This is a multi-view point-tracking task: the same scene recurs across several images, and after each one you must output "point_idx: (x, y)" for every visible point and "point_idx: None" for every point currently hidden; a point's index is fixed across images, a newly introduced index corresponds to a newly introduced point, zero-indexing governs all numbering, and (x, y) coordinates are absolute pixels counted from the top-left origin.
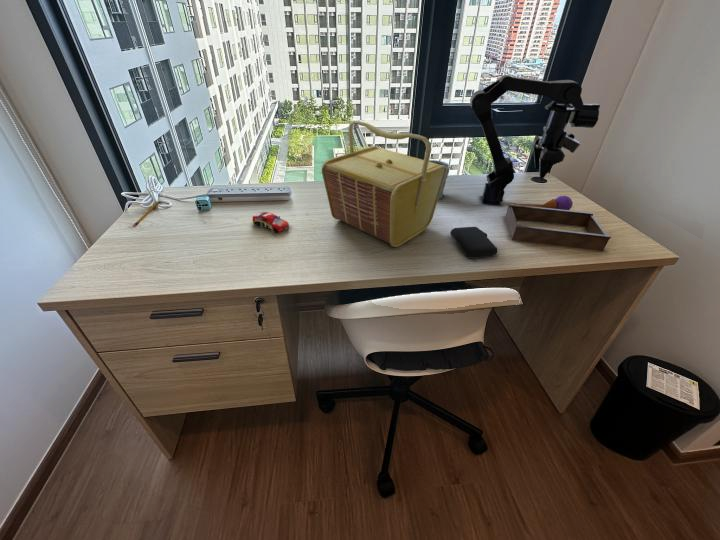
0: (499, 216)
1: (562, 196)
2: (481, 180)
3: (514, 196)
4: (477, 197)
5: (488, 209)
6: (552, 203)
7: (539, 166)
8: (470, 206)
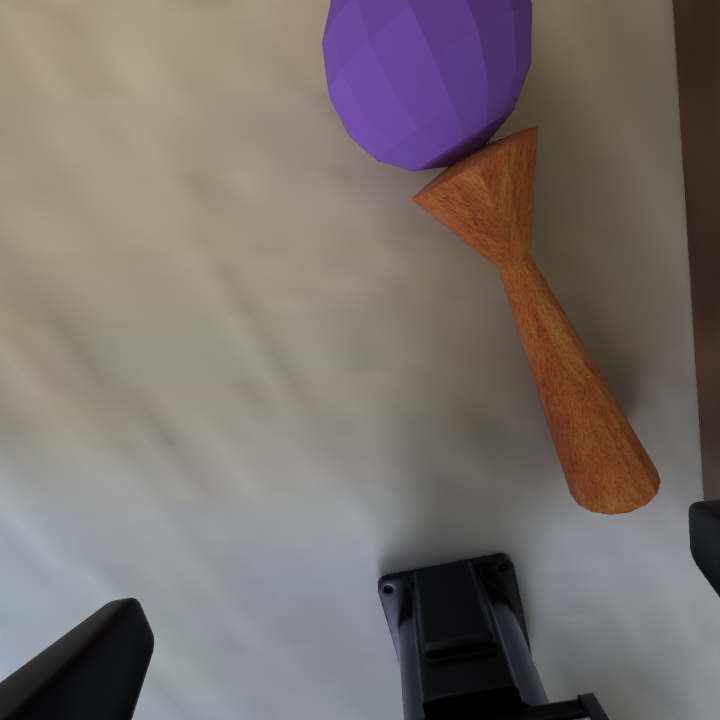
0: None
1: (447, 55)
2: None
3: (260, 477)
4: None
5: (603, 609)
6: (528, 176)
7: (99, 648)
8: None
